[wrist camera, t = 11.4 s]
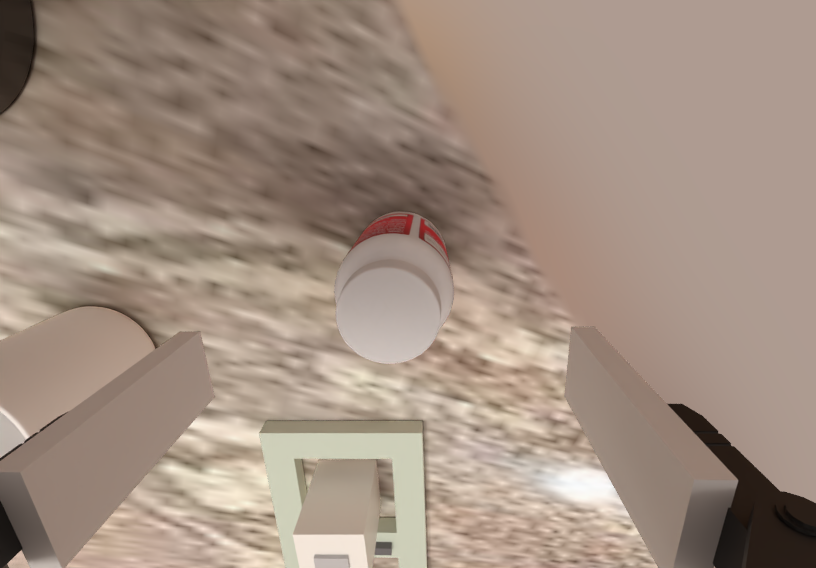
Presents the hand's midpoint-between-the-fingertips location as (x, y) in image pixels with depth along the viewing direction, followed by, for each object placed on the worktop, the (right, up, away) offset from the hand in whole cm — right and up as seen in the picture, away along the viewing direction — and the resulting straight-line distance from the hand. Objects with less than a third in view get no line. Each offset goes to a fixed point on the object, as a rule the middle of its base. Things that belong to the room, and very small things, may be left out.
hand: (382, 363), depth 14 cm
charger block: (-4, -15, +21) cm, 26 cm away
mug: (-22, -4, +18) cm, 29 cm away
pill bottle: (+1, +5, +14) cm, 15 cm away
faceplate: (-4, -20, +22) cm, 30 cm away
